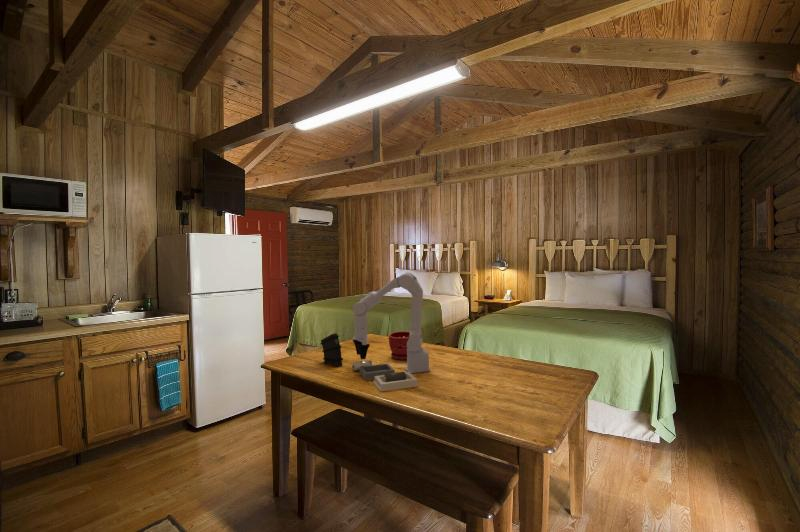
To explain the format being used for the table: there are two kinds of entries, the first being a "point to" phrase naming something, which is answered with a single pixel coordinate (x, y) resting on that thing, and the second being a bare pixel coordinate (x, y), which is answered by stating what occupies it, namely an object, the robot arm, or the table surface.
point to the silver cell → (361, 364)
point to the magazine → (332, 350)
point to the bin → (375, 371)
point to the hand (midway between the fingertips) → (361, 356)
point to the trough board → (395, 383)
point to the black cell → (395, 377)
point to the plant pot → (399, 344)
